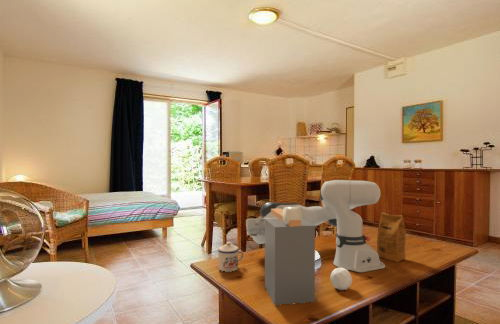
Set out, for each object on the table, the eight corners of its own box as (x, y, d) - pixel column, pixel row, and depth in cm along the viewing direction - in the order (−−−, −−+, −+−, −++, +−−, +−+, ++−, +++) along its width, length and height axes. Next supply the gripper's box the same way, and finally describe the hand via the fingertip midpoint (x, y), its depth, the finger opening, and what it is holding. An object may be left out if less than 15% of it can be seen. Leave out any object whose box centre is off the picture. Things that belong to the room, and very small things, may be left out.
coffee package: (385, 253, 150) (385, 210, 150) (408, 260, 140) (409, 214, 140) (373, 256, 145) (373, 212, 145) (396, 263, 134) (397, 216, 134)
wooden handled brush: (281, 213, 120) (281, 198, 120) (302, 226, 97) (302, 208, 97) (269, 213, 119) (269, 199, 119) (288, 226, 96) (288, 208, 96)
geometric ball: (335, 294, 109) (325, 273, 113) (354, 286, 110) (343, 266, 114) (338, 292, 103) (327, 270, 107) (358, 284, 103) (347, 262, 107)
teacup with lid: (222, 274, 122) (222, 246, 122) (215, 267, 130) (215, 241, 130) (247, 269, 127) (248, 242, 127) (239, 262, 135) (239, 237, 135)
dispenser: (299, 284, 112) (299, 217, 112) (314, 302, 98) (314, 225, 98) (264, 286, 109) (264, 218, 109) (274, 305, 95) (275, 227, 95)
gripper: (287, 233, 135) (296, 224, 123) (244, 235, 131) (249, 226, 120) (285, 220, 138) (293, 210, 126) (243, 222, 135) (248, 211, 123)
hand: (271, 218), depth 123 cm, fingers open, 8 cm apart
